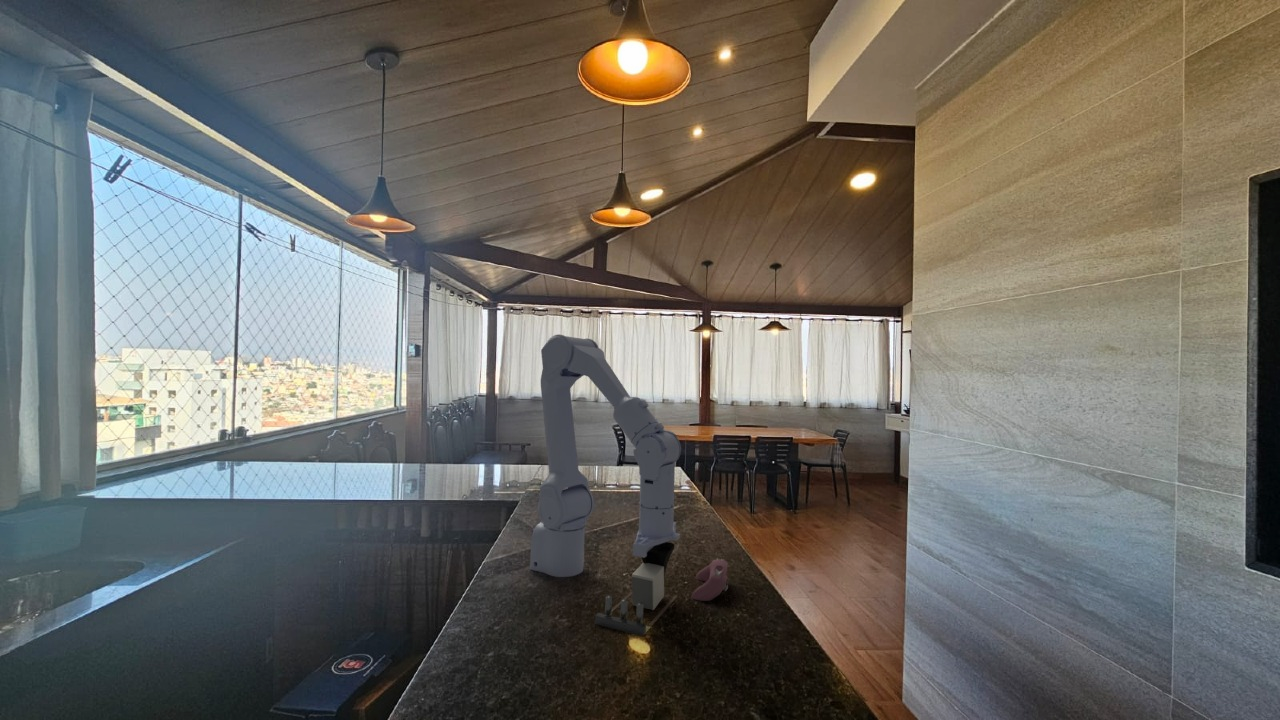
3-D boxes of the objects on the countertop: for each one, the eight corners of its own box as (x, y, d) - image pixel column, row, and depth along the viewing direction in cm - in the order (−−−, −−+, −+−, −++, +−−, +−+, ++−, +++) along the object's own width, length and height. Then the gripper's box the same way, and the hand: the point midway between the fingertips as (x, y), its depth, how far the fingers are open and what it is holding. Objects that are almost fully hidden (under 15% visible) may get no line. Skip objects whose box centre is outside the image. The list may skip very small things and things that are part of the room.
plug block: (631, 605, 79) (631, 574, 79) (643, 591, 84) (643, 562, 83) (652, 610, 78) (652, 579, 78) (664, 596, 82) (663, 566, 82)
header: (594, 624, 73) (595, 599, 73) (601, 617, 75) (602, 593, 75) (642, 636, 70) (643, 610, 70) (648, 629, 72) (649, 604, 72)
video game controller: (713, 617, 82) (734, 580, 81) (688, 601, 82) (709, 564, 82) (715, 592, 91) (734, 559, 91) (693, 578, 92) (711, 545, 92)
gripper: (663, 518, 76) (661, 610, 75) (692, 499, 89) (691, 577, 88) (621, 512, 78) (619, 601, 78) (655, 494, 92) (654, 570, 91)
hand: (654, 588), depth 83 cm, fingers closed, pressing on plug block
